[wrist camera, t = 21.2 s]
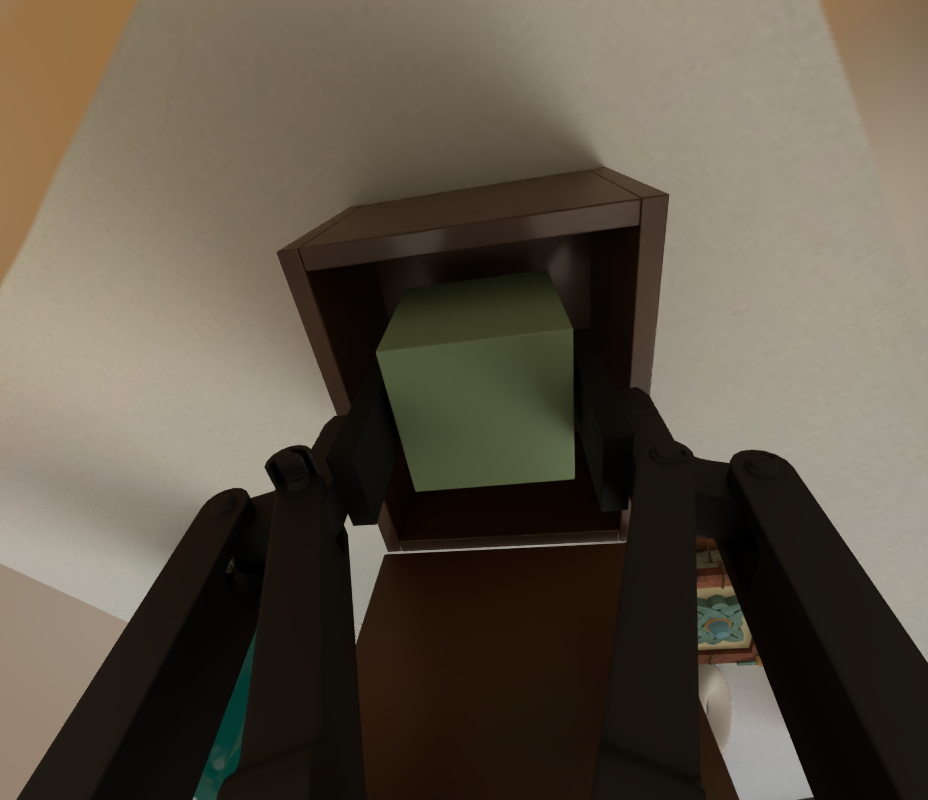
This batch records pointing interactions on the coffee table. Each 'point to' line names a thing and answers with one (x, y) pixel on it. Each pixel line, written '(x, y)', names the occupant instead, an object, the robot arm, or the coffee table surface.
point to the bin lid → (494, 675)
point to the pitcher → (227, 735)
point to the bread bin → (475, 257)
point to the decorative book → (720, 613)
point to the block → (482, 382)
